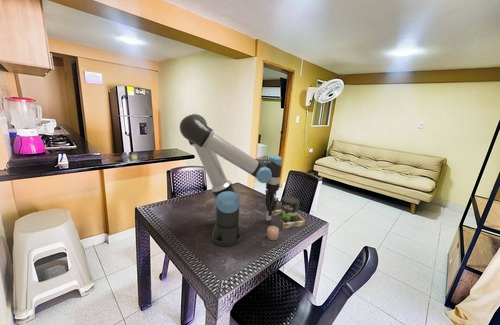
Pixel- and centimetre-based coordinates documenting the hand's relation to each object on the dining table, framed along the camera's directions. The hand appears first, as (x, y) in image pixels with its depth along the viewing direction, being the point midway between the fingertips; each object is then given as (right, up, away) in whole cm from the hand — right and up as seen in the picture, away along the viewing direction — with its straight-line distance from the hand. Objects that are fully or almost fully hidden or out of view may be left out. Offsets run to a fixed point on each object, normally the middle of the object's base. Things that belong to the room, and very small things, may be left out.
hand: (268, 219), depth 125 cm
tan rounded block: (+1, -6, -14) cm, 15 cm away
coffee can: (+13, -2, +5) cm, 14 cm away
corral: (+13, -2, +5) cm, 14 cm away
